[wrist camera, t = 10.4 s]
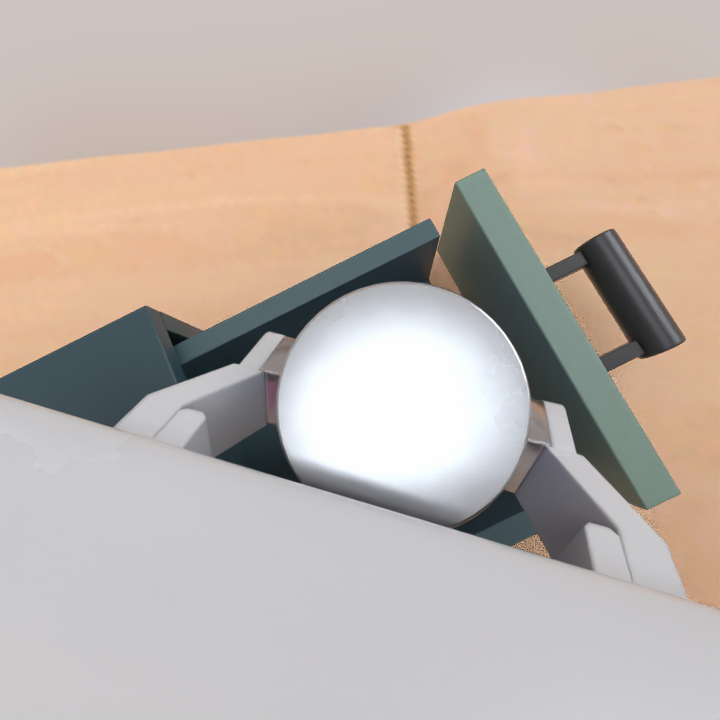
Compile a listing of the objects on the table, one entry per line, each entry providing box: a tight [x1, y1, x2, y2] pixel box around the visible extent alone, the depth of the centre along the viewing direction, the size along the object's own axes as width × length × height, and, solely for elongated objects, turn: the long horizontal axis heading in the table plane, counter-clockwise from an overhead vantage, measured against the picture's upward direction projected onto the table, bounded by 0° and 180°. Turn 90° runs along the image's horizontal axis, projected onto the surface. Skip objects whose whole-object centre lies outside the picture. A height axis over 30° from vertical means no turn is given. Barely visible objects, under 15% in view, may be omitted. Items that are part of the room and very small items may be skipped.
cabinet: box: [0, 306, 219, 459], centre depth 16 cm, size 16×14×8 cm
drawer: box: [173, 169, 686, 546], centre depth 16 cm, size 19×12×6 cm, turn 116°
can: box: [276, 281, 532, 529], centre depth 11 cm, size 5×5×8 cm
